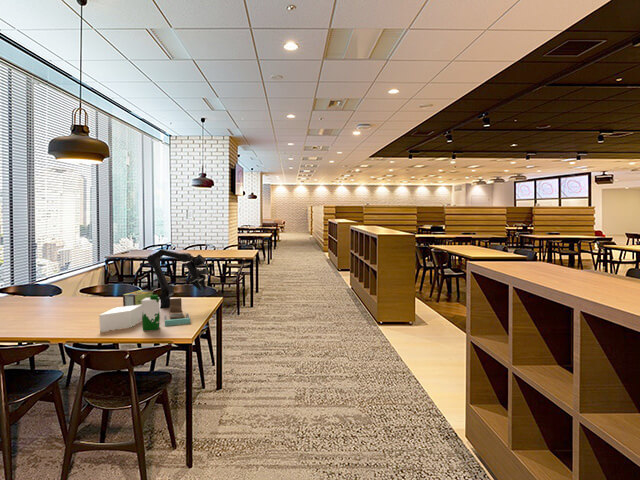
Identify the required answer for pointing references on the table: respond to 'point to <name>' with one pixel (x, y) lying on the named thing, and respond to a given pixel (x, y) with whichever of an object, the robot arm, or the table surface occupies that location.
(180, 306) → the wooden drawer
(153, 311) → the milk carton
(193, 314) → the table surface
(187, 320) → the bay
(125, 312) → the white block
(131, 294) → the protein box
